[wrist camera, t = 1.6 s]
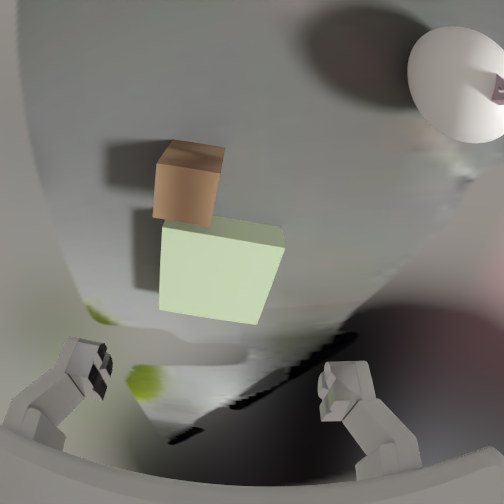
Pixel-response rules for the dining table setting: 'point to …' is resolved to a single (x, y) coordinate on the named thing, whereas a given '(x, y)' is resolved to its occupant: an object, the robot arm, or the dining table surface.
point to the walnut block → (187, 182)
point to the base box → (218, 268)
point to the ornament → (459, 83)
